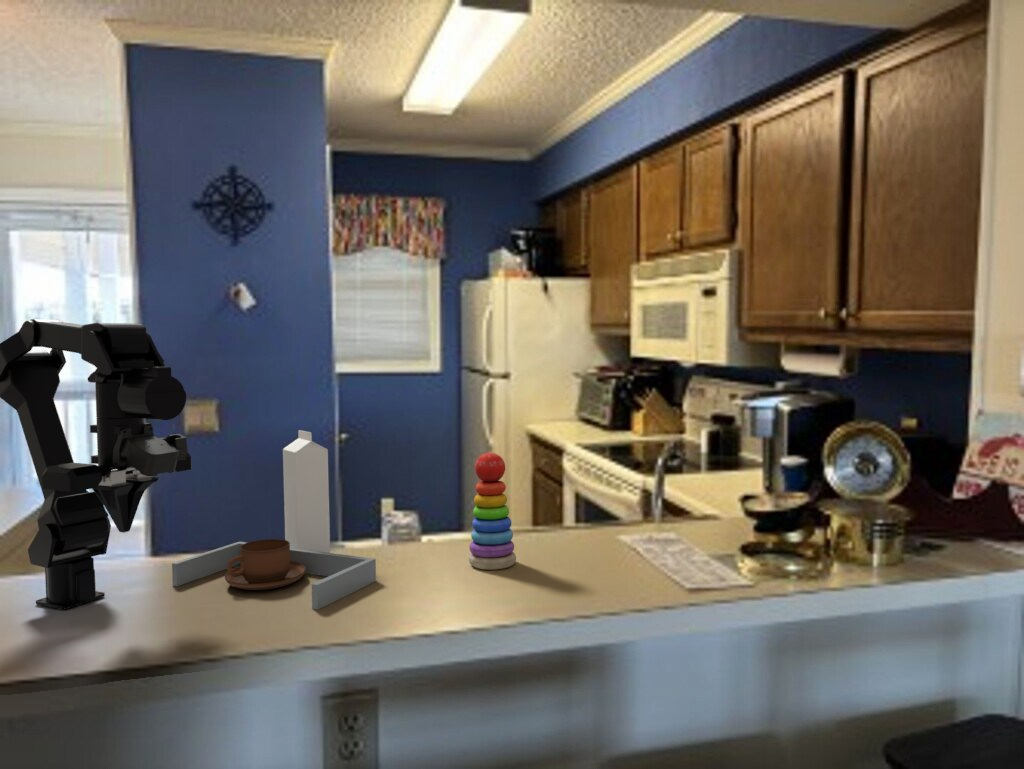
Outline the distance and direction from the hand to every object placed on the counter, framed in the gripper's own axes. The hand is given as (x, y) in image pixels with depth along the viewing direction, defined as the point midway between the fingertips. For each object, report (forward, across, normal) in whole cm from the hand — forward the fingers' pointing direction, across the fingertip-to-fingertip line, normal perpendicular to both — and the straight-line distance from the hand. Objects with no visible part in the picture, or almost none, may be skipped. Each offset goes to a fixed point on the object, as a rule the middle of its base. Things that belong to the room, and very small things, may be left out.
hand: (124, 531), depth 101 cm
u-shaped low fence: (+12, +19, -8) cm, 24 cm away
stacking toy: (+12, +41, -36) cm, 56 cm away
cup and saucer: (+12, +19, -7) cm, 24 cm away
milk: (+12, +35, -2) cm, 37 cm away
